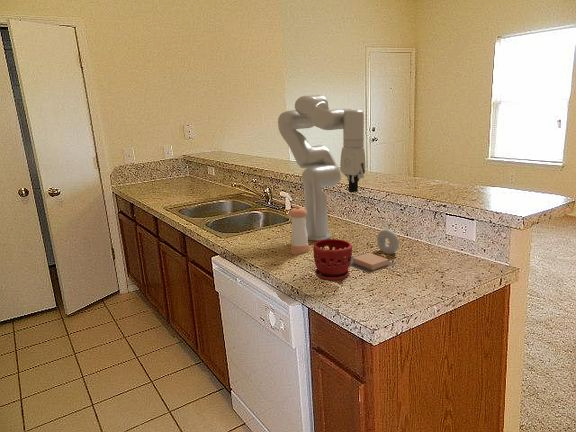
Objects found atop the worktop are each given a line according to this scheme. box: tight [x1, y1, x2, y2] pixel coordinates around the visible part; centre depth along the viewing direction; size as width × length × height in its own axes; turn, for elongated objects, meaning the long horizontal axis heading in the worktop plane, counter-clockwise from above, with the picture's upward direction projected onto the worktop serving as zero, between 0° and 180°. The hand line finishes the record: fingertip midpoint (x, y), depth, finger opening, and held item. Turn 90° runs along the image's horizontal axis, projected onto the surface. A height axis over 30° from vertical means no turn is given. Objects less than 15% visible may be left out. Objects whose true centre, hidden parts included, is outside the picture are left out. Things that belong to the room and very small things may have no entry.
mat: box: [349, 252, 396, 274], centre depth 161 cm, size 16×13×1 cm
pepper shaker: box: [288, 205, 310, 256], centre depth 176 cm, size 7×7×19 cm
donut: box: [376, 228, 400, 255], centre depth 170 cm, size 10×4×10 cm, turn 35°
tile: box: [352, 252, 390, 270], centre depth 159 cm, size 2×8×10 cm
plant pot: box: [312, 238, 353, 282], centre depth 150 cm, size 13×13×12 cm
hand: (353, 191), depth 169 cm, fingers closed
